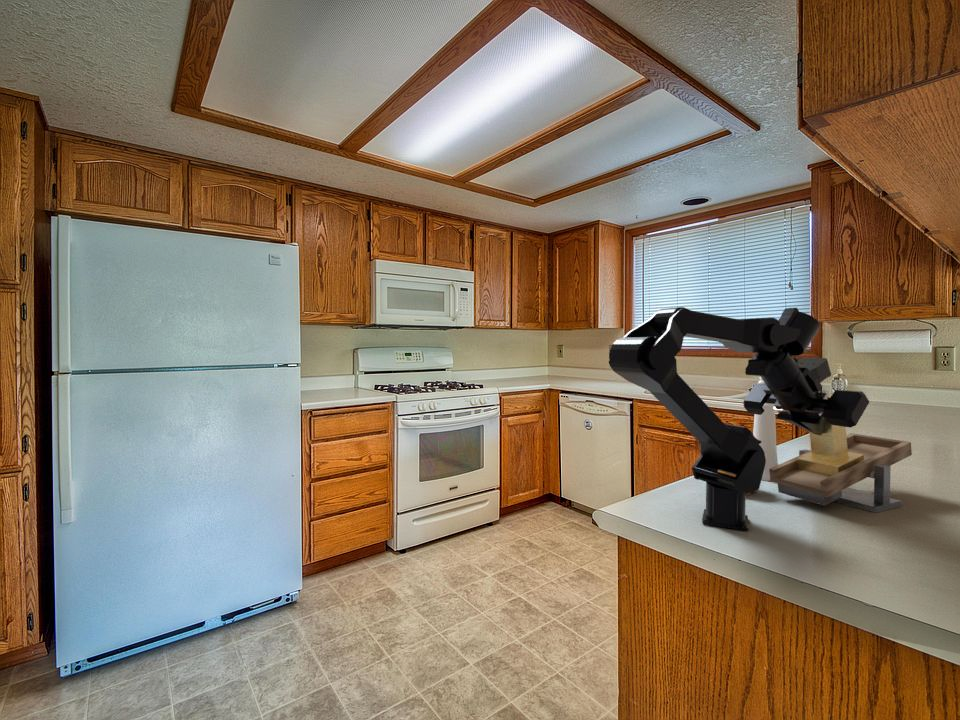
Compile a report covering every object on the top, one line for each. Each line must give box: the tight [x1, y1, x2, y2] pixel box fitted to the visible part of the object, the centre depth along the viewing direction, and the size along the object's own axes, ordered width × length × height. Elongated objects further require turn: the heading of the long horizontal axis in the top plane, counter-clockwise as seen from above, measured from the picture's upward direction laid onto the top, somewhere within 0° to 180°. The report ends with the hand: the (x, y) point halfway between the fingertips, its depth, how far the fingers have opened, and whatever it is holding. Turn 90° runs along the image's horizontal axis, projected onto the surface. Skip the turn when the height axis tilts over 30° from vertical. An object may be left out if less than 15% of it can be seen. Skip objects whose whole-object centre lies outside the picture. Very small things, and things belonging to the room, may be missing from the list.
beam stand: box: [798, 449, 902, 514], centre depth 88 cm, size 8×15×8 cm, turn 23°
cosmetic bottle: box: [752, 376, 779, 482], centre depth 101 cm, size 6×6×22 cm
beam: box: [769, 433, 913, 506], centre depth 88 cm, size 26×11×4 cm, turn 113°
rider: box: [797, 418, 864, 476], centre depth 86 cm, size 8×7×10 cm
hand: (820, 433), depth 85 cm, fingers closed
